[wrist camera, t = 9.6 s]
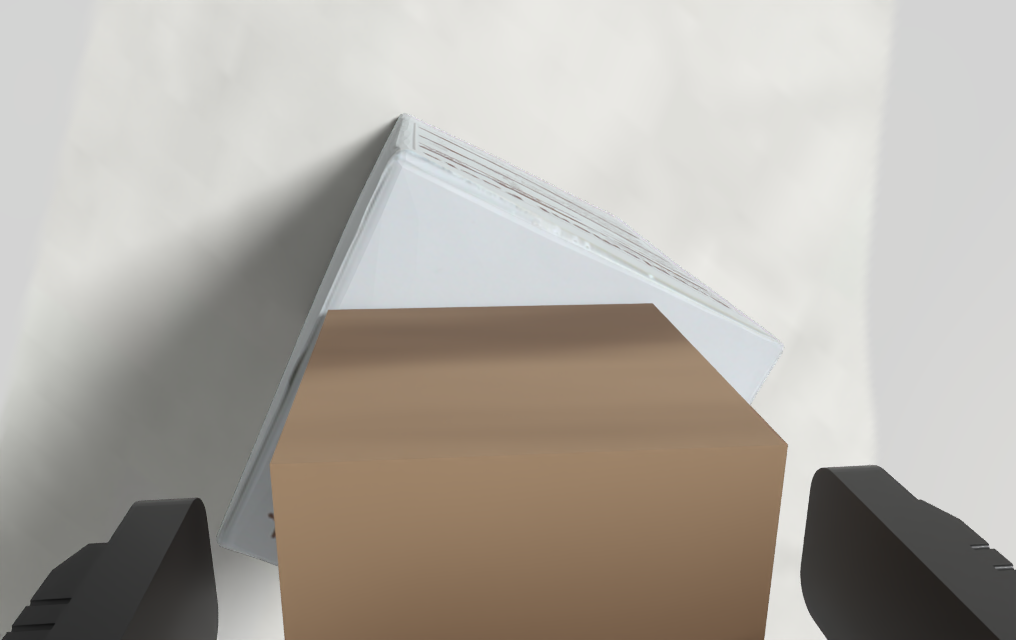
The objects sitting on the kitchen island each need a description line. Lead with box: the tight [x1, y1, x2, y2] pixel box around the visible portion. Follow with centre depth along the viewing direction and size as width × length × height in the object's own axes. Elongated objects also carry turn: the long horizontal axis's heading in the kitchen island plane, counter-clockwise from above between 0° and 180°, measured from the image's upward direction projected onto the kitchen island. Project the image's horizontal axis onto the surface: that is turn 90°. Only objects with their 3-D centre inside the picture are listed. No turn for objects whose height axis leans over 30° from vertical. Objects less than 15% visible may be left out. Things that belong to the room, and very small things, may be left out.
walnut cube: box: [270, 303, 788, 640], centre depth 11 cm, size 5×5×5 cm
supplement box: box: [217, 114, 784, 566], centre depth 19 cm, size 7×7×13 cm
